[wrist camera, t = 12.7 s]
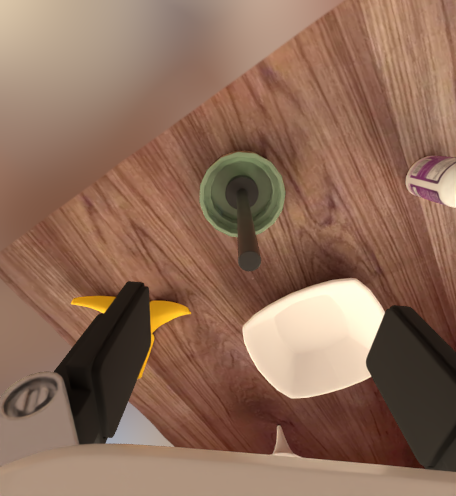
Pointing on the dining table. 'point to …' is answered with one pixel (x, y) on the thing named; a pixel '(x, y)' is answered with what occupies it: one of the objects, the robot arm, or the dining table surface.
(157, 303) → the banana peel
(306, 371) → the bowl
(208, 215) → the green round dish
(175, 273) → the dining table surface
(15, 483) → the robot arm
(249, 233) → the disc-footed rod
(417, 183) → the pill bottle
